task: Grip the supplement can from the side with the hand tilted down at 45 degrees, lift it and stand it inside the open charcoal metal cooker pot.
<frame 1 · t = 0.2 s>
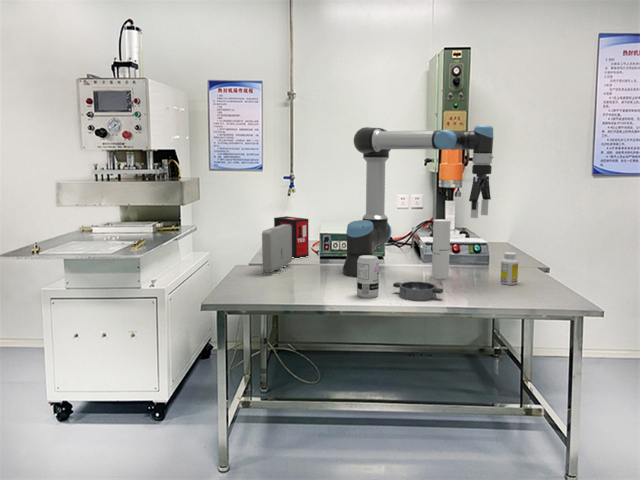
hand: (479, 216, 227), 28 cm above the table, tool pointing down, fingers open, 13 cm apart
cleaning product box: (291, 256, 290), on the table
network device: (277, 270, 255), on the table
cooker pot: (417, 296, 209), on the table
cylindrical container: (440, 277, 241), on the table
supplement can: (367, 296, 210), on the table
supplement bottle: (508, 284, 229), on the table
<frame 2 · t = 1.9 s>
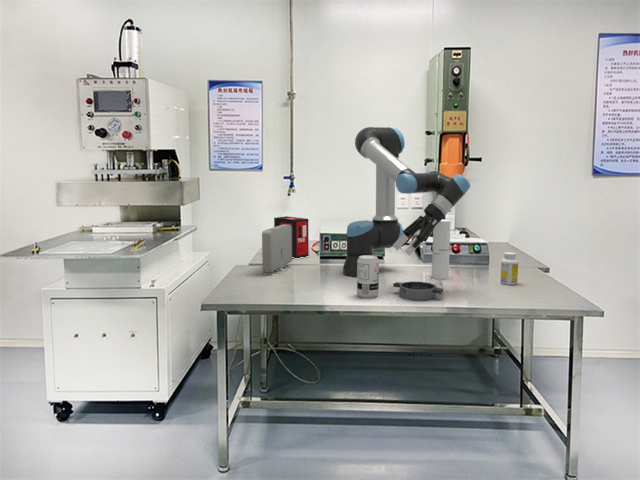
hand: (400, 250, 209), 17 cm above the table, tool tilted 45°, fingers open, 13 cm apart
nothing on the table moved.
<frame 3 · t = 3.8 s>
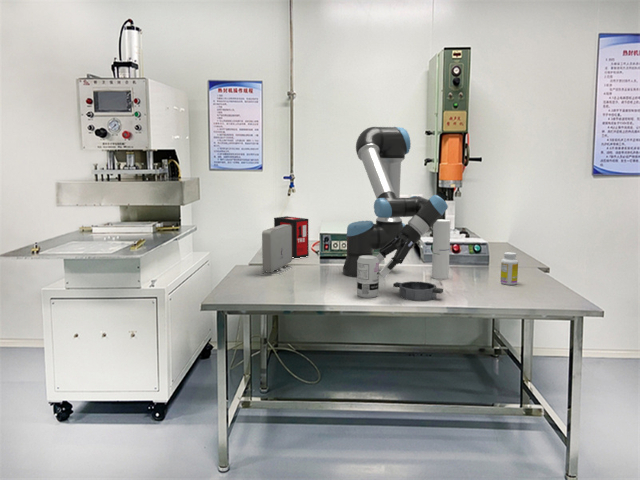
hand: (376, 271, 207), 10 cm above the table, tool tilted 45°, fingers open, 13 cm apart
nothing on the table moved.
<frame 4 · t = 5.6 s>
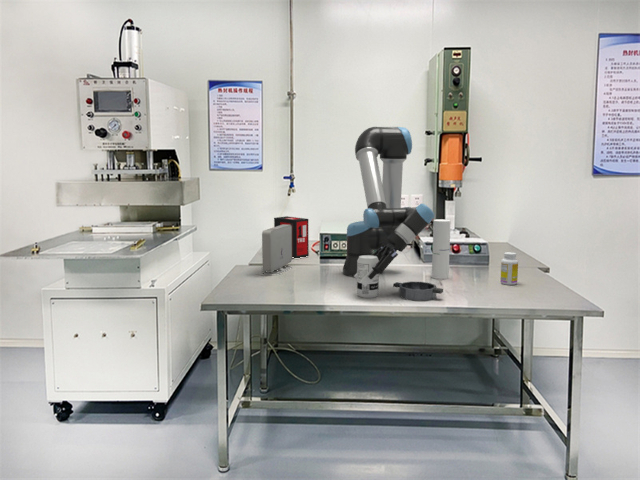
hand: (359, 281, 208), 6 cm above the table, tool tilted 45°, fingers closed on supplement can, 8 cm apart
supplement can: (367, 296, 210), on the table, touching gripper
everything else where it was.
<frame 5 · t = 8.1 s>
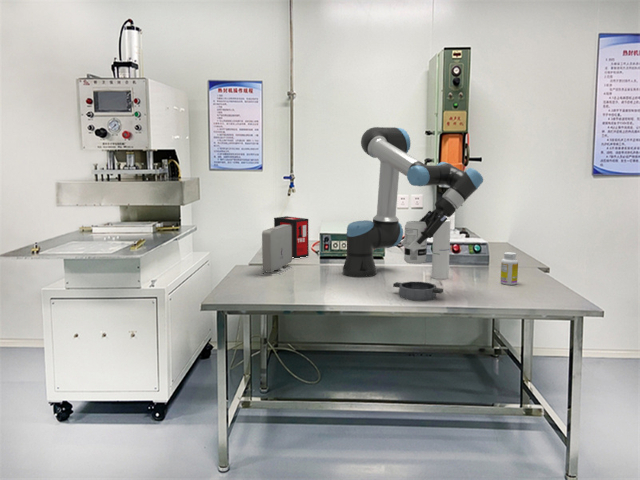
hand: (407, 247, 206), 19 cm above the table, tool tilted 45°, fingers closed on supplement can, 8 cm apart
supplement can: (415, 262, 207), point 13 cm above the table, touching gripper
everything else where it was.
when the fingers open (8 cm above the table, at t = 10.7 s): supplement can drops 1 cm, resting on cooker pot.
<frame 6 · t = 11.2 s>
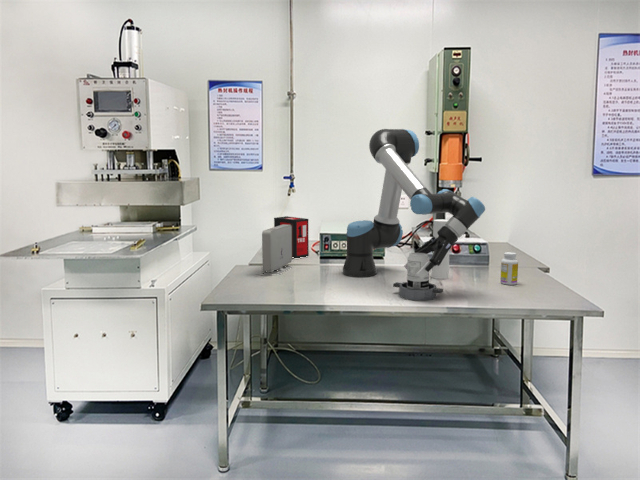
hand: (412, 272, 207), 9 cm above the table, tool tilted 45°, fingers open, 13 cm apart
supplement can: (417, 293, 209), point 1 cm above the table, touching cooker pot
everything else where it was.
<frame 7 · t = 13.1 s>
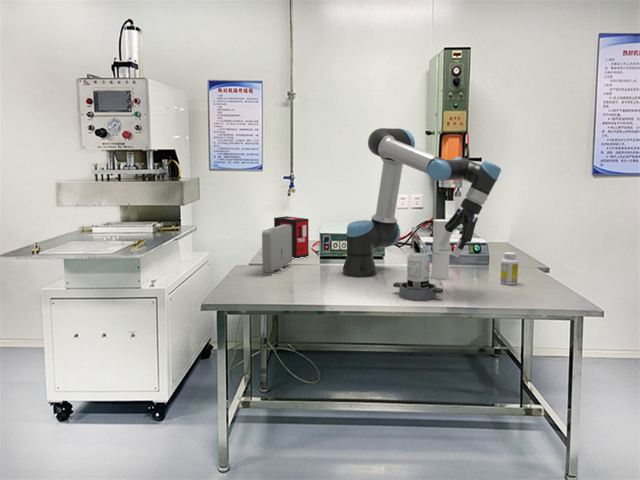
hand: (447, 251, 212), 16 cm above the table, tool tilted 25°, fingers open, 13 cm apart
nothing on the table moved.
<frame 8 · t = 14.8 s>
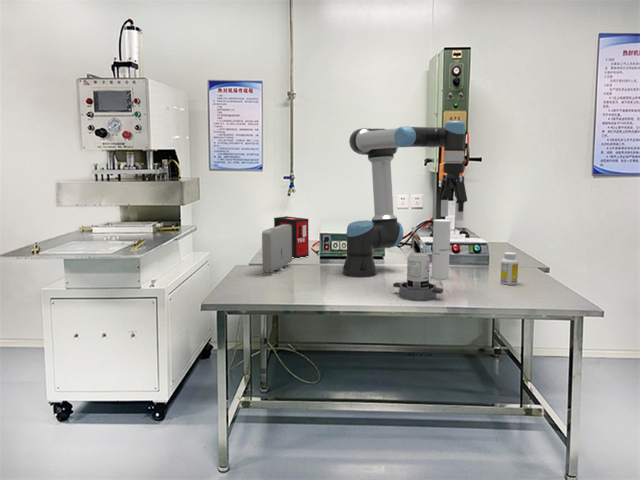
hand: (451, 218, 212), 29 cm above the table, tool pointing down, fingers open, 13 cm apart
nothing on the table moved.
at the end: supplement can 0.3 cm from the cooker pot (horizontally); supplement can tilted 0°; supplement can point 0.8 cm above the table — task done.
